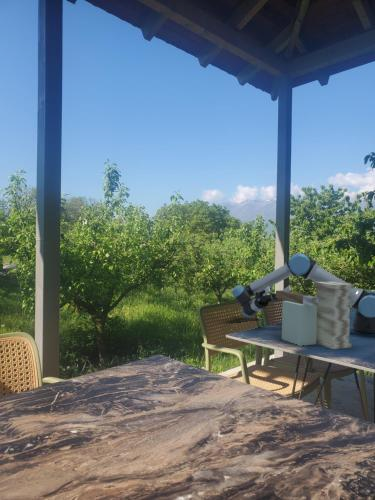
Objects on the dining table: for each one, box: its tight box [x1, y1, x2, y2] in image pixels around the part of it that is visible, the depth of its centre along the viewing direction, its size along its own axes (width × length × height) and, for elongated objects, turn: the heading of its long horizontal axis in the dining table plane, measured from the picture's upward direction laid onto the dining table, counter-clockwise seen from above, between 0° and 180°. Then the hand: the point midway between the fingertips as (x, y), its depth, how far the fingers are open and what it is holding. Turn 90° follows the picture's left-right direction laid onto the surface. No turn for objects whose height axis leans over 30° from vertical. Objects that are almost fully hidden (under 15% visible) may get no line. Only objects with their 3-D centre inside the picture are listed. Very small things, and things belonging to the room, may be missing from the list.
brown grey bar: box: [275, 289, 318, 306], centre depth 200 cm, size 4×28×4 cm, turn 23°
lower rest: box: [281, 300, 317, 347], centre depth 197 cm, size 10×14×20 cm
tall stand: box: [313, 281, 355, 350], centre depth 192 cm, size 12×14×30 cm
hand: (279, 288), depth 211 cm, fingers open, 13 cm apart
